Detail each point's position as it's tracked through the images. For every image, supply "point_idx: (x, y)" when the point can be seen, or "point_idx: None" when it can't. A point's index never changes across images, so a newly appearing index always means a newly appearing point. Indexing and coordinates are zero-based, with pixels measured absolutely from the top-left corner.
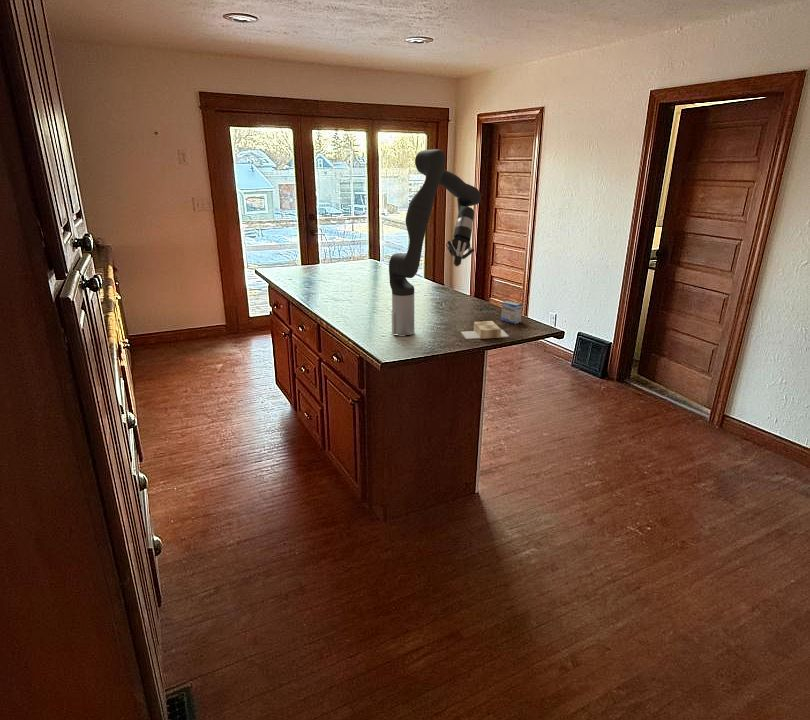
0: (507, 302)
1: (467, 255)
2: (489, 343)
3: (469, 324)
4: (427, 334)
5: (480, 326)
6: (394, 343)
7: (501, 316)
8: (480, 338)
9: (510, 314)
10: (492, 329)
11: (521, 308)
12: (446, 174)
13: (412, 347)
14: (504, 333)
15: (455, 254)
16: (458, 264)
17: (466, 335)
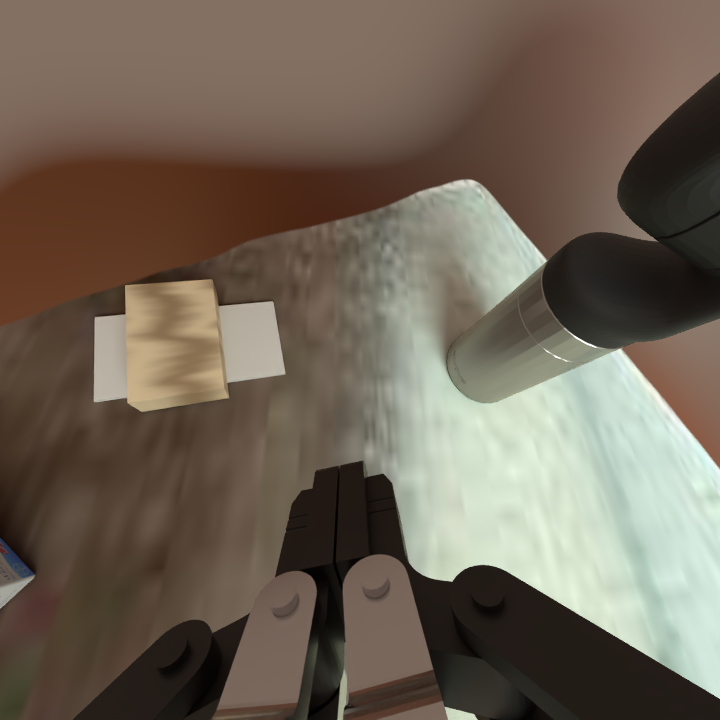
0: None
1: (107, 694)
2: (197, 263)
3: (233, 489)
4: (403, 356)
5: (207, 324)
6: (484, 283)
7: (19, 578)
8: (219, 307)
9: None
10: (164, 286)
11: None
12: None
13: (432, 252)
14: (102, 348)
15: (426, 594)
16: (328, 468)
17: (268, 330)
